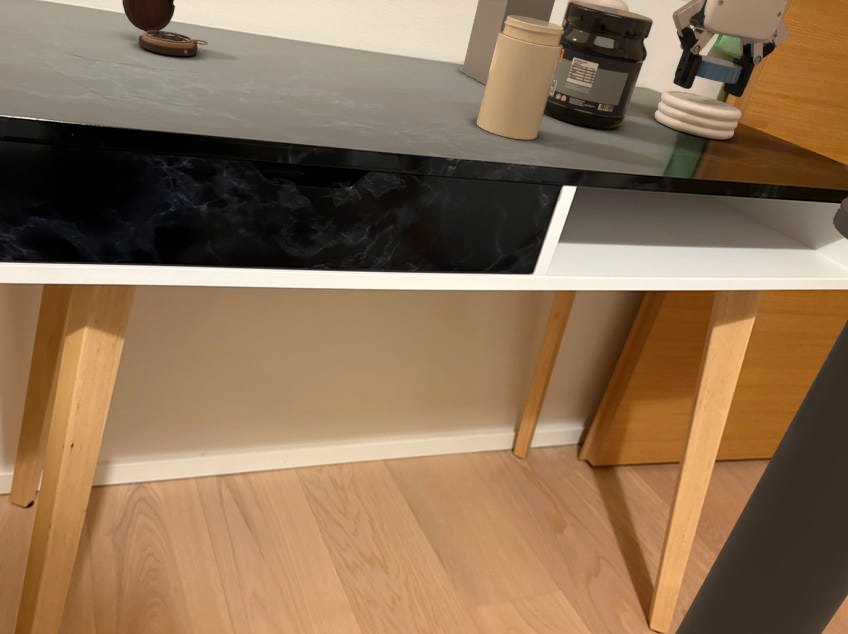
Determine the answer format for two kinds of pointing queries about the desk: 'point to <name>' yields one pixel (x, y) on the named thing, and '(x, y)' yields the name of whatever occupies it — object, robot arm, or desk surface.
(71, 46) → the desk surface
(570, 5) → the supplement container
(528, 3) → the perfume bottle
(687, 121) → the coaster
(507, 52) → the jar
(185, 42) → the compass
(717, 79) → the lid
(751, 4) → the robot arm
